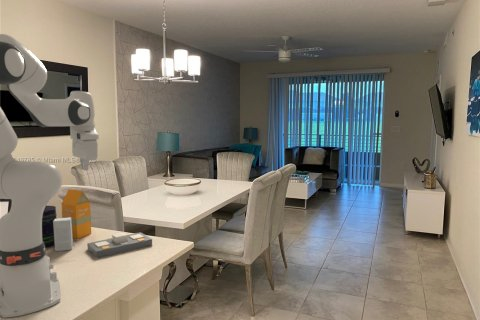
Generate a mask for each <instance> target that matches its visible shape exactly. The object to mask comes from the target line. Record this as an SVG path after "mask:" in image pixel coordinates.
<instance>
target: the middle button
mask: <svg viewBox="0 0 480 320" xmlns="http://www.w3.org/2000/svg"><path fill="white" fill-rule="evenodd" d="M111 235H112V236H111V238H112V241H113V242H114V243H115V244H118V243H122V242H127V235H128V234H126V233H125V232H124V231H123V232H117V233H114V234H113V233H112V234H111Z"/></svg>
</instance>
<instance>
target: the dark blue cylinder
mask: <svg viewBox="0 0 480 320" xmlns="http://www.w3.org/2000/svg"><path fill="white" fill-rule="evenodd" d="M55 219H57V207H56V206H55V205H46V206H45V209H44V212H43V216H42V241H44V245H45V249H49V248H53V247H55V241H54V226H53V221H54V220H55Z"/></svg>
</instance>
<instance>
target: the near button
mask: <svg viewBox="0 0 480 320" xmlns="http://www.w3.org/2000/svg"><path fill="white" fill-rule="evenodd" d="M94 245H95V246H96V247H97V248H99V247H104V246H109V245H110V244H109V243H108V242H106V241H103V242H98V243H94Z"/></svg>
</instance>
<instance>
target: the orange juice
mask: <svg viewBox="0 0 480 320" xmlns="http://www.w3.org/2000/svg"><path fill="white" fill-rule="evenodd" d="M91 215H92V214H91V201H90V200H89V199H88V197H87V196H86V194H85V192H84V191H83V190H77V189H68V190H67V191H66V194H65V195H64V198H63V200H62V202H61V218H69V217H71V223H72V238H73V239H80V238H83V237H86V236H89V235H92V216H91Z"/></svg>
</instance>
